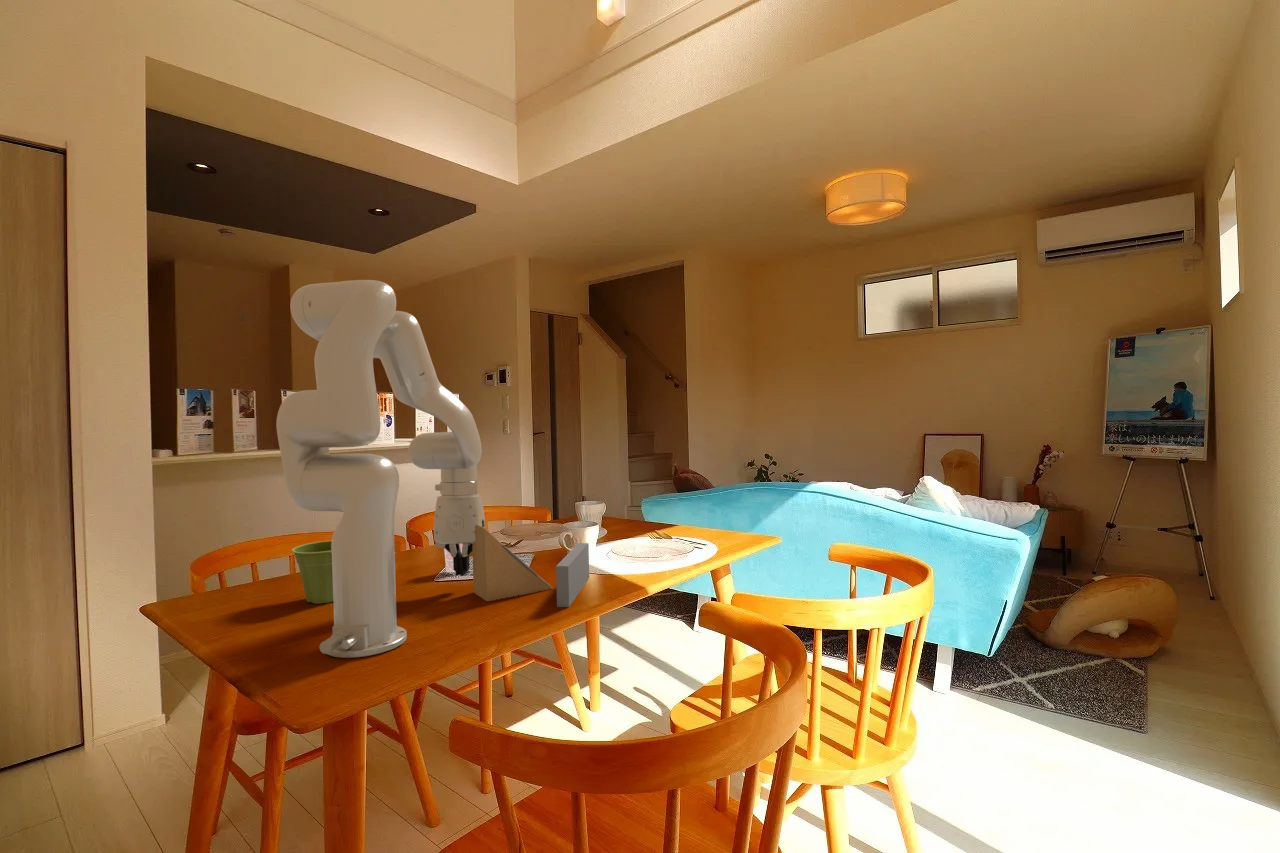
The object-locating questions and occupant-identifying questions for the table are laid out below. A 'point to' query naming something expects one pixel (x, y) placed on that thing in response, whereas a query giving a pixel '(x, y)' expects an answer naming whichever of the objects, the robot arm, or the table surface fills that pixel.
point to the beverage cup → (450, 560)
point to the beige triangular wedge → (500, 570)
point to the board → (572, 574)
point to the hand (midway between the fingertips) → (461, 573)
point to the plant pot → (316, 571)
